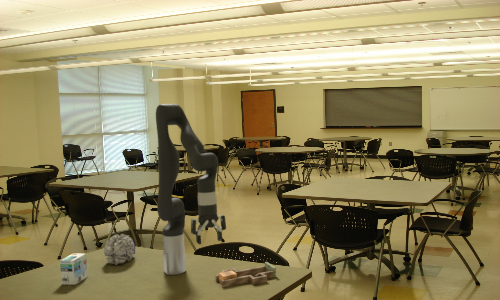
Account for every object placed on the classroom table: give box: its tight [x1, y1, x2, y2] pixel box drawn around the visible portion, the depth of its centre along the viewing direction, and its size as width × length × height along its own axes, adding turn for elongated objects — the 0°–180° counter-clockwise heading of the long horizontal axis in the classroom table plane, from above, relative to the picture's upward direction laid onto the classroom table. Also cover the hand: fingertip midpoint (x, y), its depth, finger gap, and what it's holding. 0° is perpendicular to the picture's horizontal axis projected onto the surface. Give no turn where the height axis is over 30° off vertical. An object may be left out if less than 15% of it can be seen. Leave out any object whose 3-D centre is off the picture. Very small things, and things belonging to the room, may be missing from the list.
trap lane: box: [214, 261, 277, 288], centre depth 197 cm, size 24×16×4 cm, turn 113°
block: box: [218, 270, 237, 284], centre depth 193 cm, size 6×5×4 cm
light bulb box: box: [59, 252, 89, 286], centre depth 204 cm, size 11×7×11 cm, turn 168°
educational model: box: [103, 233, 136, 266], centre depth 228 cm, size 14×20×15 cm
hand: (209, 242), depth 188 cm, fingers open, 8 cm apart
